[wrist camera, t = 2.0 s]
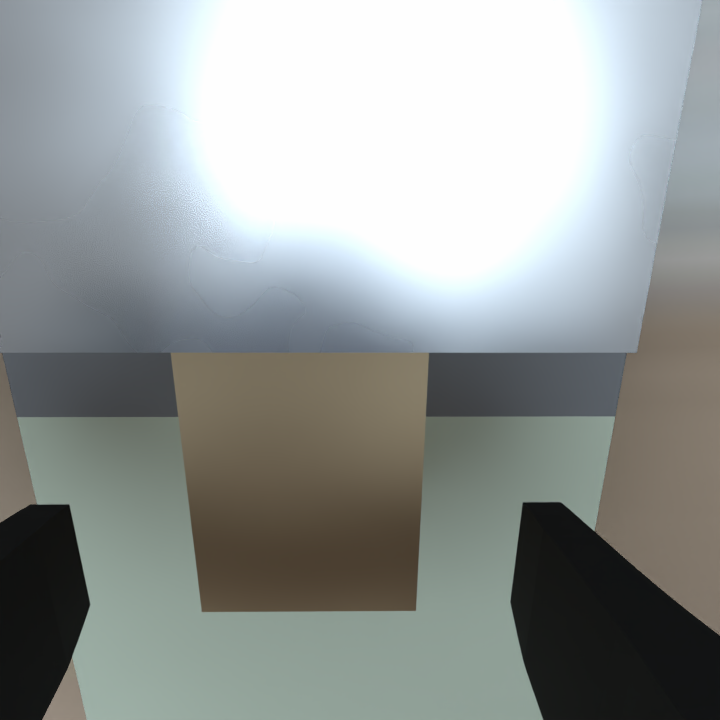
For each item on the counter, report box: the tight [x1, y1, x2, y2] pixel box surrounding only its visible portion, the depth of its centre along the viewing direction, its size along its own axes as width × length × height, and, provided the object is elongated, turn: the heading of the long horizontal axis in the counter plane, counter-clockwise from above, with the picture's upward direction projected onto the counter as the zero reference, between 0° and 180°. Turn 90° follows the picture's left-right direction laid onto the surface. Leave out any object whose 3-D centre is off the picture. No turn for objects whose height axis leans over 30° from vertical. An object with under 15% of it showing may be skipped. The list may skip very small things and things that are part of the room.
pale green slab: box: [2, 353, 627, 720], centre depth 14 cm, size 38×14×2 cm, turn 0°
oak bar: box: [171, 353, 429, 612], centre depth 11 cm, size 15×4×4 cm, turn 0°
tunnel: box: [0, 0, 702, 353], centre depth 9 cm, size 6×9×6 cm
